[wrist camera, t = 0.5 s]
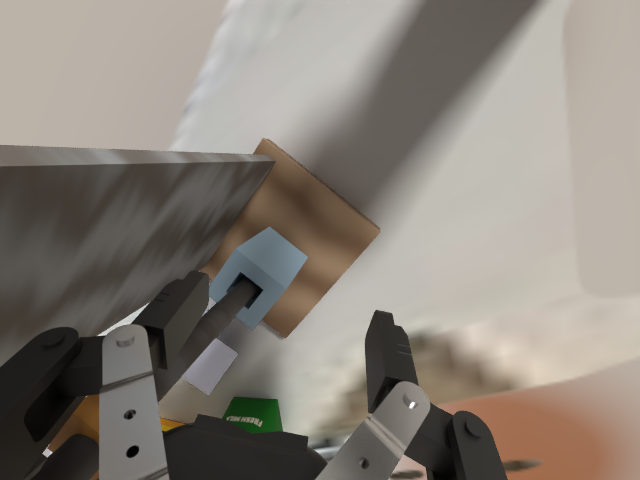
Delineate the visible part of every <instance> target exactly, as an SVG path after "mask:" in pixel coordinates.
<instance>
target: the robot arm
mask: <svg viewBox="0 0 640 480" xmlns="http://www.w3.org/2000/svg"><path fill="white" fill-rule="evenodd" d="M208 301H209V275H208V274H207V273H202V272H198V271H193V270H192V271H190V272H189V273H188V274H187V276H186V277H185V278H184V279H183V280H182V279H176V280H174V281H172V282H170V283H168V284H167V285H166V286H165V287H164V288H163V289H162V290H161V291H160V293H159V294H157V296H156V297H155V298H154V300H152V301H151V302H150V303H149V304H148V305H147V306H146V308H145V309H144V310H143V311H142V312H141V313H140V314H139V315H138V316H137V317H136V319H135V320H134V321H133V322H132V323H131V324H129V325H123V326H120V327H118V328H115V329H114V330H112V331H110V332H109V333H108V334H107V335H106V336H93V337H79V334H78V332H77V330H75V329H74V328H71V327H57V328H52V329H49V330H47V331H44V332H42V333H40V334H39V335H37V336H35V337H34V338H33V339H32V340H31V341H29V342H28V343H27V344H26V345H25V346H24V347H23V348H21V349H20V350H19V351H18V352H17V353H16V354H15V355H13V356H12V357H11V358H10V359H9V360H8V361H7V362H5V363H4V364H3V365H2V366H1V367H0V480H22V479H23V478H24V477H25V475H26V474H27V473H28V471H29V470H30V469H31V467H32V466H33V465H34V464H35V462H36V461H37V460H38V458H39V457H40V456H41V454H42V453H43V452H44V451H45V449H46V448H47V447H48V445H49V444H50V443H51V441H52V440H53V439H54V438H55V436H56V435H57V434H58V432H59V431H60V430H61V428H62V427H63V426H64V425H65V423H66V422H67V421H68V419H69V418H70V417H71V415H72V414H73V413H74V412H75V410H76V409H77V408H78V406H79V405H80V404H81V402H82V401H83V400H84V399H85V397H86V396H88V395H97V394H99V478H98V479H96V480H388V478H389V477H390V475H391V473H392V472H393V470H394V469H395V467H396V465H397V464H398V462H399V460H400V459H401V457H402V455H403V454H404V455H406V456H407V457H409V458H411V459H413V460H414V461H416V462H418V463H419V464H421V465H423V466H425V467H426V472H427V479H428V480H508V479H507V476H506V473H505V471H504V468H503V465H502V462H501V459H500V456H499V453H498V451H497V448H496V445H495V442H494V439H493V436H492V434H491V432H490V430H489V428H488V427H487V425H486V424H485V423H484V422H483V421H482V420H481V419H480V418H479V417H478V416H476V415H474V414H473V413H471V412H467V411H458V412H456V413H455V414H454V416H453V415H451V414H450V413H448V412H445V411H444V410H442V409H440V408H438V407H436V406H435V405H433V404H432V403H431V402H430V401H429V398H428V396H427V395H426V393H425V392H424V391H423V390H422V389H421V388H420V387H419V385H418V380H417V376H416V371H415V367H414V363H413V358H412V355H411V349H410V347H409V346H410V345H409V340H408V336H407V334H406V333H405V331H404V330H403V328H402V327H401V326H397V325H394V320H393V315H392V313H389V312H384V311H379V310H376V311H375V312H374V315H373V317H372V320H371V323H370V325H369V328H368V331H367V334H366V338H365V358H366V377H367V396H368V413H372V415H371V416H370V417H367V418H366V419H365V420H364V421H363V422H362V423H361V424H360V426H359V427H358V428H357V429H356V431H355V432H354V433H353V434H352V435H351V437H350V438H349V439H348V440H347V441H346V443H345V444H344V445H343V446H342V448H341V449H340V450H339V451H338V452H337V454H336V455H335V456H334V457H333V458H332V460H331V461H330V462H329V463H327V462H326V461H325V459H324V458H323V457H322V456H321V455H320V454H318V453H317V452H316V451H315V450H313V449H312V448H310V447H308V446H307V444H308V437H307V436H302V435H297V434H293V433H288V432H283V431H277V432H264V433H250V432H248V431H246V430H244V429H242V428H240V427H238V426H236V425H235V424H233V423H231V422H229V421H227V420H225V419H220V418H215V417H211V416H206V415H201V414H198V416H197V418H196V420H195V422H194V423H190V424H185V425H181V426H178V427H175V428H172V429H170V430H168V431H166V432H164V433H162V428H161V422H160V415H159V408H158V402H157V395H156V389H155V382H154V376H153V375H154V374H155V372H156V371H157V369H158V368H161V369H165V370H168V369H169V367H170V365H171V364H172V362H173V361H174V359H175V358H176V356H177V354H178V353H179V351H180V350H181V348H182V347H183V345H184V344H185V342H186V340H187V339H188V337H189V336H190V334H191V333H192V331H193V329H194V328H195V326H196V325H197V323H198V322H199V320H200V318H201V317H202V315H203V314H204V312H205V310H206V308H207V305H208Z"/></svg>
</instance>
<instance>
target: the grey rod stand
mask: <svg viewBox="0 0 640 480" xmlns="http://www.w3.org/2000/svg"><path fill="white" fill-rule="evenodd" d="M268 227H271V228H272V229H273V230H275V231H276V232H277V233H278V234H280V235H281V236H282V237H284V238H285V239H286V240H287V241H289V242H290V243H291V244H292V245H294V246H295V247H296V248H297V249H299V250H300V251H301V252H302V253H304V254H305V255H306V256H307V257H308V258H307V260H306V261H305V263H304V264H303V266H302V267H301V269H300V270H299V272H298V273H297V275H296V276H295V277H294V279H293V280H292V282H291V283H290V285H289V286H288V288H287V289H286V290H285V292H284V293H283V294H282V295H281V297H280V298H279V299H278V300H277V301H276V303H275V304H274V305H273V306H272V308H271V309H270V310H269V311H268V312H267V314H266V315H265V316H264V317H263V318H262V320H264V321H265V322H266V323H267V324H269V325H270V326H271V327H272V328H274V329H275V330H276V331H278V332H279V333H280V334H281V335H283V336H284V337H285V338H287V337H288V336H289V334H290V333H291V332H292V331H293V330H294V329H295V328H296V327H297V325H298V324H299V323H300V322H301V321H302V320H303V319H304V318H305V316H306V315H307V314H308V313H309V312H310V311H311V310H312V309H313V307H314V306H315V305H316V304H317V303H318V302H319V301H320V299H321V298H322V297H323V296H324V295H325V294H326V293H327V292H328V290H329V289H330V288H331V287H332V286H333V285H334V284H335V283H336V281H337V280H338V279H339V278H340V277H341V276H342V275H343V274H344V272H345V271H346V270H347V269H348V268H349V267H350V266H351V265H352V263H353V262H354V261H355V260H356V259H357V258H358V257H359V256H360V254H361V253H362V252H363V251H364V250H365V249H366V248H367V247H368V245H369V244H370V243H371V242H372V241H373V240H374V239H375V238H376V236H377V235H378V234H379V233H380V228H379V227H378V226H377V225H375V224H374V223H373V222H372V221H370V220H369V219H368V218H367V217H365V216H364V215H363V214H362V213H360V212H359V211H358V210H357V209H355V208H354V207H353V206H352V205H350V204H349V203H348V202H347V201H345V200H344V199H343V198H342V197H340V196H339V195H338V194H337V193H335V192H334V191H333V190H332V189H330V188H329V187H328V186H327V185H325V184H324V183H323V182H322V181H320V180H319V179H318V178H317V177H315V176H314V175H313V174H312V173H310V172H309V171H308V170H307V169H306V168H304V167H303V166H302V165H301V164H299V163H298V162H297V161H296V160H294V159H293V158H292V157H291V156H289V155H288V154H287V153H286V152H284V151H283V150H282V149H281V148H279V147H278V146H277V145H276V144H274V143H273V142H272V141H271V140H269V139H264V138H263V139H262V141H261V142H260V144H259V145H258V147H257V148H256V150H255V152H254V153H253V154H228V153H201V152H174V151H147V150H121V149H120V150H119V149H94V148H92V149H91V148H67V147H39V146H13V145H0V367H1V366H2V365H3V364H4V363H5V362H7V361H8V360H9V359H10V358H11V357H12V356H13V355H15V354H16V353H17V352H18V351H19V350H20V349H21V348H23V347H24V346H25V345H26V344H27V343H28V342H29V341H31V340H32V339H33V338H34V337H35V336H37V335H39V334H40V333H42V332H44V331H47V330H49V329H52V328H57V327H71V328H74V329H75V330H77V332H78V334H79V337H93V336H97V335H99V334H100V333H102V332H104V331H105V330H107V329H108V328H110V327H111V326H113V325H115V324H116V323H118V322H119V321H121V320H122V319H124V318H126V317H127V316H129V315H130V314H132V313H133V312H135V311H137V310H138V309H140V308H141V307H143V306H144V305H146V304H148V303H149V302H151V301H152V300H154V298H155V297H156V296H157V294H159V293H160V291H161V290H162V289H163V288H164V287H165V286H166V285H167V284H168V283H170V282H172V281H174V280H176V279H182V280H183V279H184V278H185V277H186V276H187V274H188V273H189V272H190V271H192V270H193V271H199V270H200V271H201V272H202V273H207V274H208V275H209V278H210V279H211V280H212V281H213V280H214V279H215V277H216V276H217V274H218V273H219V271H220V270H221V269H222V267H223V266H224V264H225V263H226V261H227V260H228V258H229V257H230V256H231V254H232V253H233V251H234V250H235V248H237V247H238V246H240V245H242V244H243V243H245V242H246V241H248V240H249V239H251V238H252V237H254V236H256V235H257V234H259V233H260V232H262V231H263V230H265V229H266V228H268ZM259 289H260V287H259V286H258V285H257V284H255V283H254V282H253V281H252V280H250V279H249V278H248V277H245V278H244V279H243V280H241V281H240V282H239V283H238V284H237V285H236V286H235V287H234V288H233V289H232V290H230V291H229V292H228V293H227V294H226V295H225V296H224V297H223V298H222V299H221V300H220V301H218V302H217V303H216V304H215V305H214V306H213V307H212V308H211V309H210V310H209V311H207V312H206V313H205V314H204V315H203V316H202V317H201V318H200V320H199V322H198V323H197V325H196V326H195V328H194V329H193V331H192V333H191V334H190V336H189V337H188V339H187V340H186V342H185V344H184V345H183V347H182V348H181V350H180V351H179V353H178V354H177V356H176V358H175V359H174V361H173V362H172V364H171V365H170V367H169V369H168V370H165V369H161V368H158V369H157V371H156V372H155V374H154V375H153V376H154V382H155V389H156V395H157V402H159V401H160V400H161V399H162V398H163V397H164V396H165V394H166V393H167V392H168V391H169V390H170V389H171V388H172V387H173V385H174V384H175V383H176V382H177V381H178V380H179V379H180V377H181V376H182V375H183V374H184V373H185V372H186V371H187V370H188V368H189V367H190V366H191V365H192V364H193V363H194V362H195V361H196V359H197V358H198V357H199V356H200V355H201V354H202V353H203V352H204V350H205V349H206V348H207V347H208V346H209V345H210V344H211V343H212V341H213V340H214V339H215V338H216V337H217V336H218V335H219V334H220V332H221V331H222V330H223V329H224V328H225V327H226V326H227V325H228V323H229V322H230V321H231V320H232V319H233V318H234V317H235V316H236V314H237V313H238V312H239V311H240V310H241V309H242V308H243V307H244V305H245V304H246V303H247V302H248V301H249V300H250V299H251V298H252V296H253V295H254V294H255V293H256V292H257V291H258V290H259ZM48 449H49V450H50V451H52V452H53V453H52V454H51V455H50V456H49V457H48V458H47V457H46V456H44V455H43V454H41V456H40V457H39V458H38V460H37V461H36V462H35V464H34V465H33V466H32V467H31V469H30V470H29V471H28V473H27V474H26V475H25V477H24V478H23V479H22V480H96V479H98V478H99V394H97V395H88V396H87V397H86V398H85V399H84V400H83V401H82V402H81V404H80V405H79V406H78V408H77V409H76V410H75V412H74V413H73V414H72V415H71V417H70V418H69V419H68V421H67V422H66V423H65V425H64V426H63V427H62V428H61V430H60V431H59V432H58V434H57V435H56V436H55V438H54V439H53V440H52V441H51V443H50V445H49V447H48Z"/></svg>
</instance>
